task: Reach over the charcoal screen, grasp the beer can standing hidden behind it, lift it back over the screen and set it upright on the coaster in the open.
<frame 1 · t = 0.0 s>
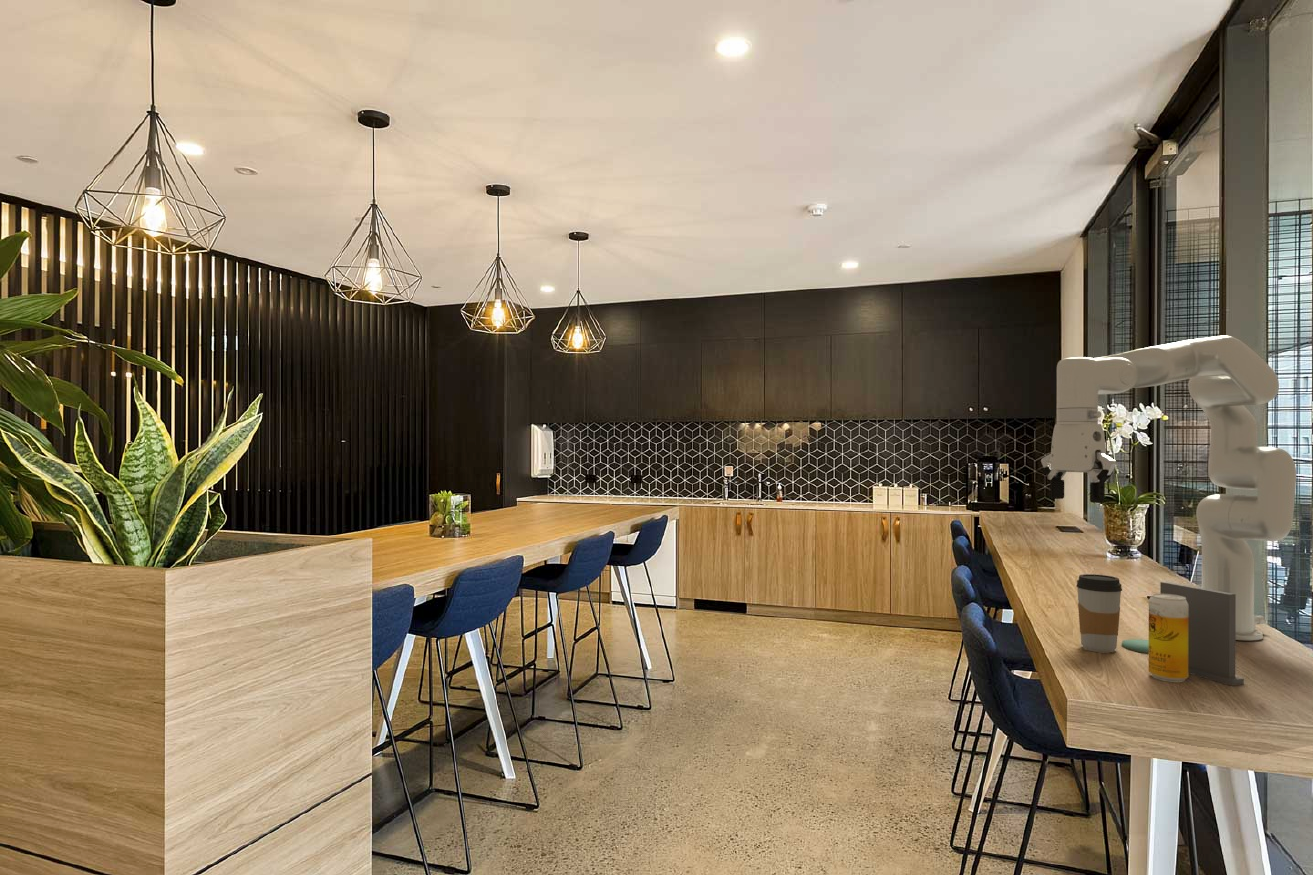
hand: (1076, 500, 159), 31 cm above the table, tool pointing down, fingers open, 9 cm apart
beer can: (1168, 679, 141), on the table
coffee cup: (1098, 649, 161), on the table
coaster: (1149, 648, 161), on the table
screen: (1196, 672, 144), on the table
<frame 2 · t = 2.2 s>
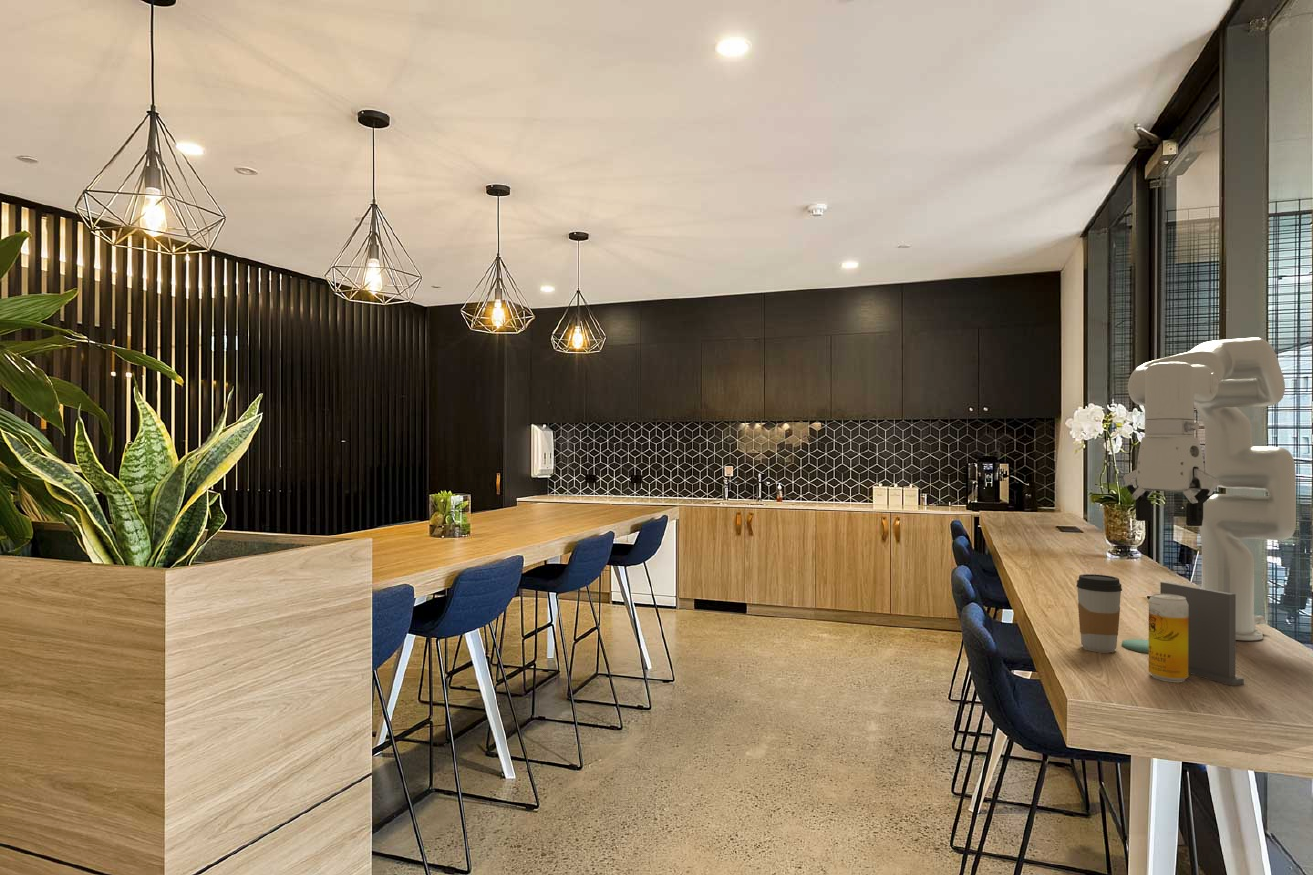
hand: (1168, 523, 141), 28 cm above the table, tool pointing down, fingers open, 9 cm apart
nothing on the table moved.
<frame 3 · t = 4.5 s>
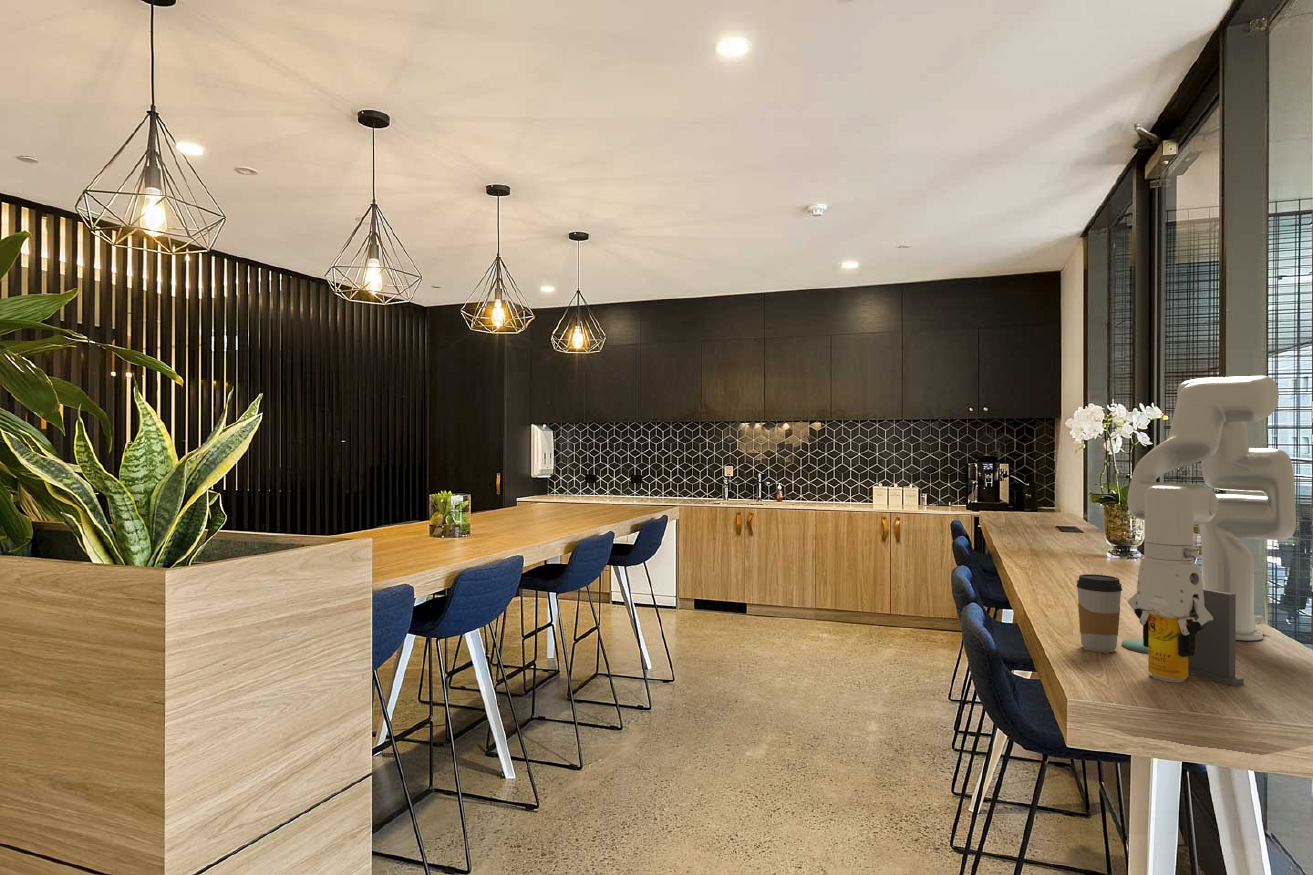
hand: (1168, 650, 141), 5 cm above the table, tool pointing down, fingers closed on beer can, 6 cm apart
beer can: (1168, 678, 141), on the table, touching gripper
everything else where it was.
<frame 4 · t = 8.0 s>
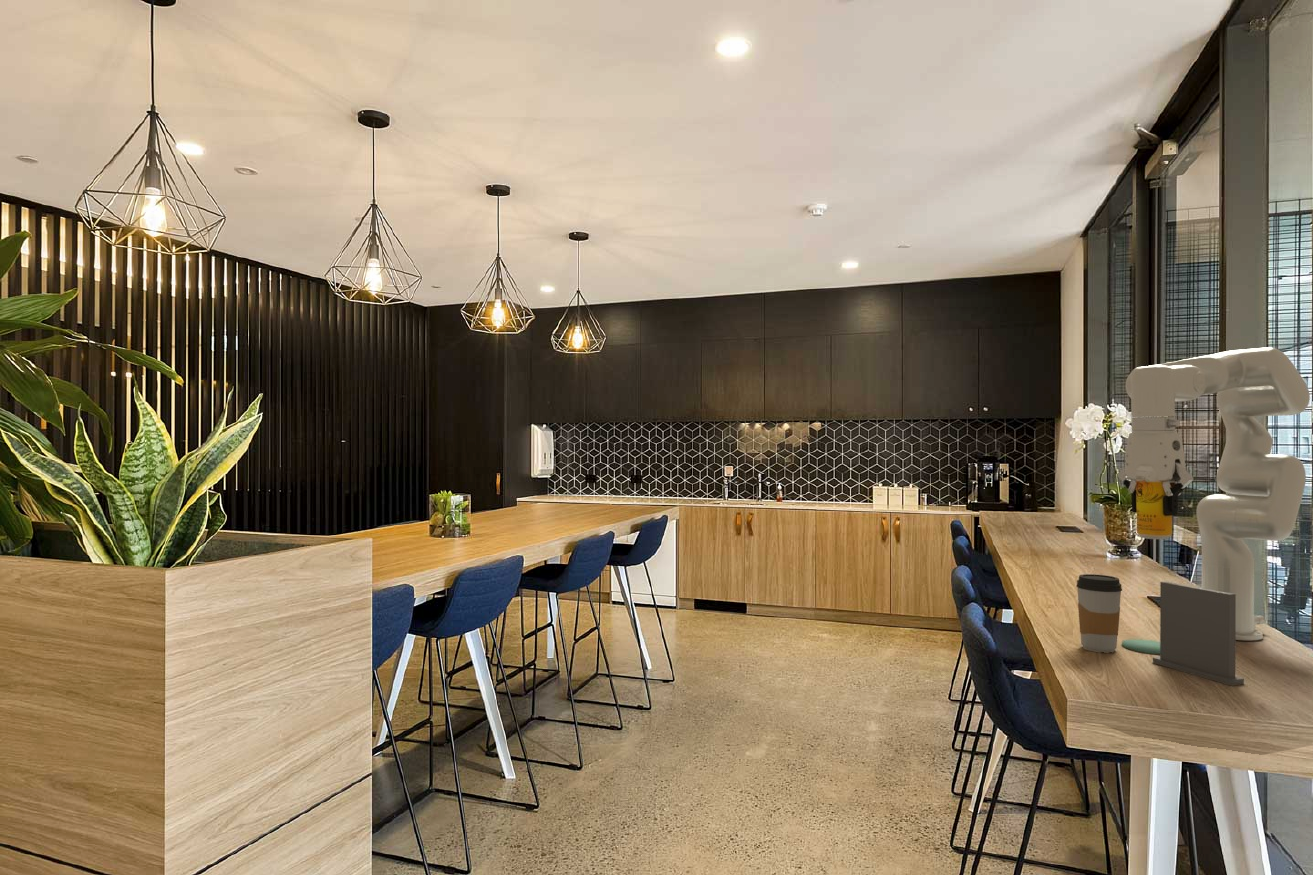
hand: (1154, 512, 158), 29 cm above the table, tool pointing down, fingers closed on beer can, 6 cm apart
beer can: (1154, 538, 158), point 24 cm above the table, touching gripper
everything else where it was.
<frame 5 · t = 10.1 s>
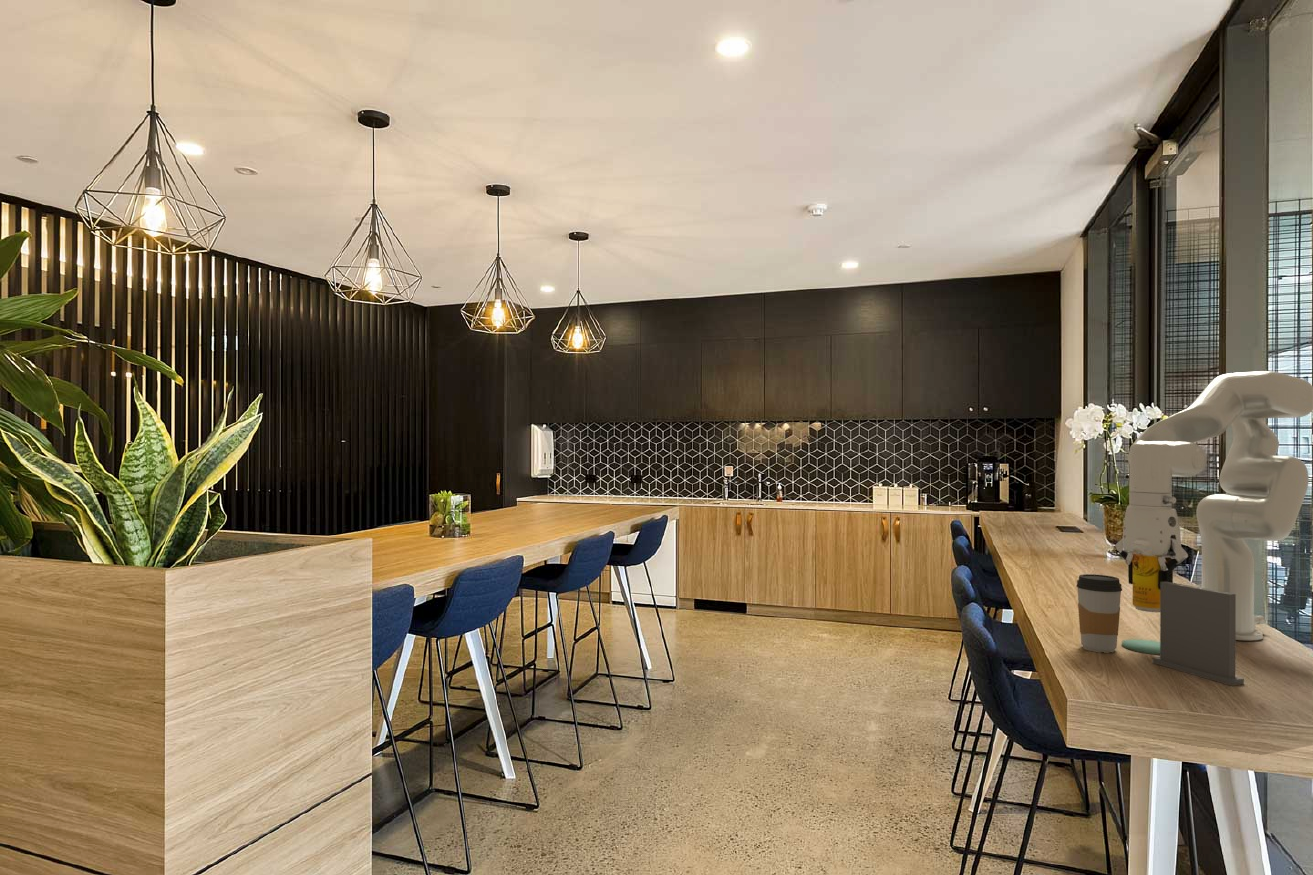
hand: (1149, 585, 161), 13 cm above the table, tool pointing down, fingers closed on beer can, 6 cm apart
beer can: (1149, 610, 161), point 8 cm above the table, touching gripper
everything else where it was.
when the fingers open (7 cm above the table, at t = 11.6 s): beer can stays where it is, resting on coaster.
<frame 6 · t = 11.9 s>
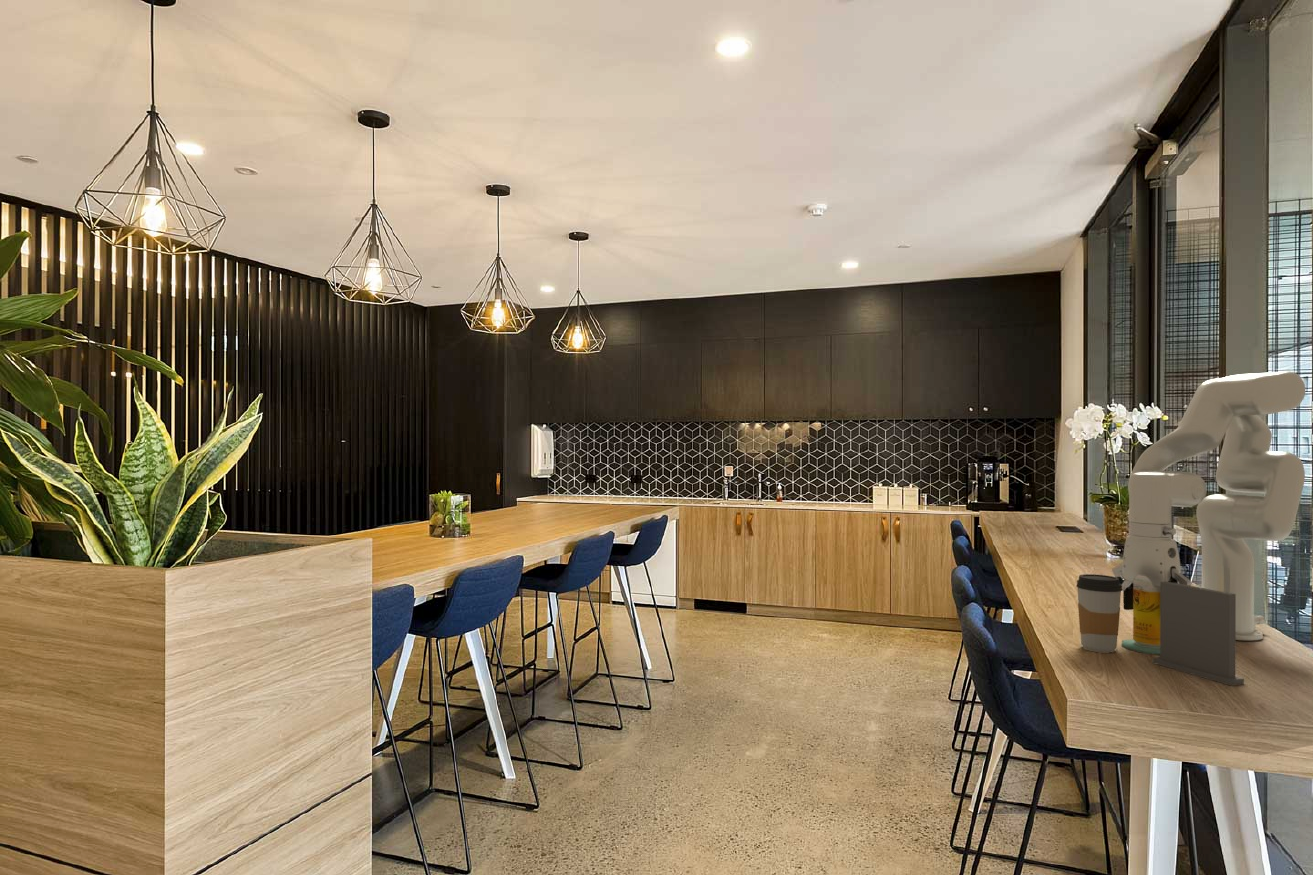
hand: (1149, 613, 161), 7 cm above the table, tool pointing down, fingers open, 8 cm apart
beer can: (1150, 646, 161), resting on coaster
everything else where it was.
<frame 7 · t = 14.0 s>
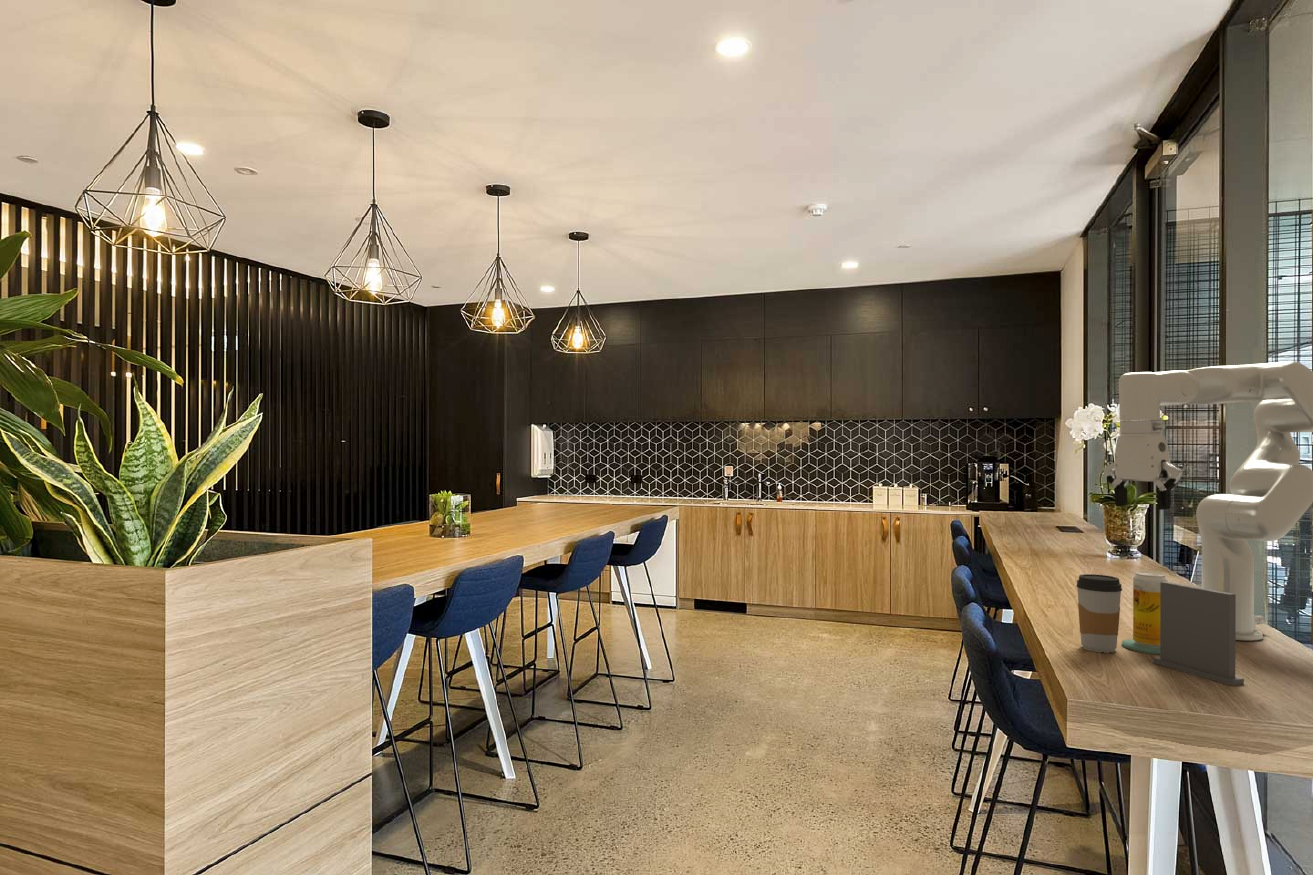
hand: (1142, 507, 167), 29 cm above the table, tool pointing down, fingers open, 9 cm apart
nothing on the table moved.
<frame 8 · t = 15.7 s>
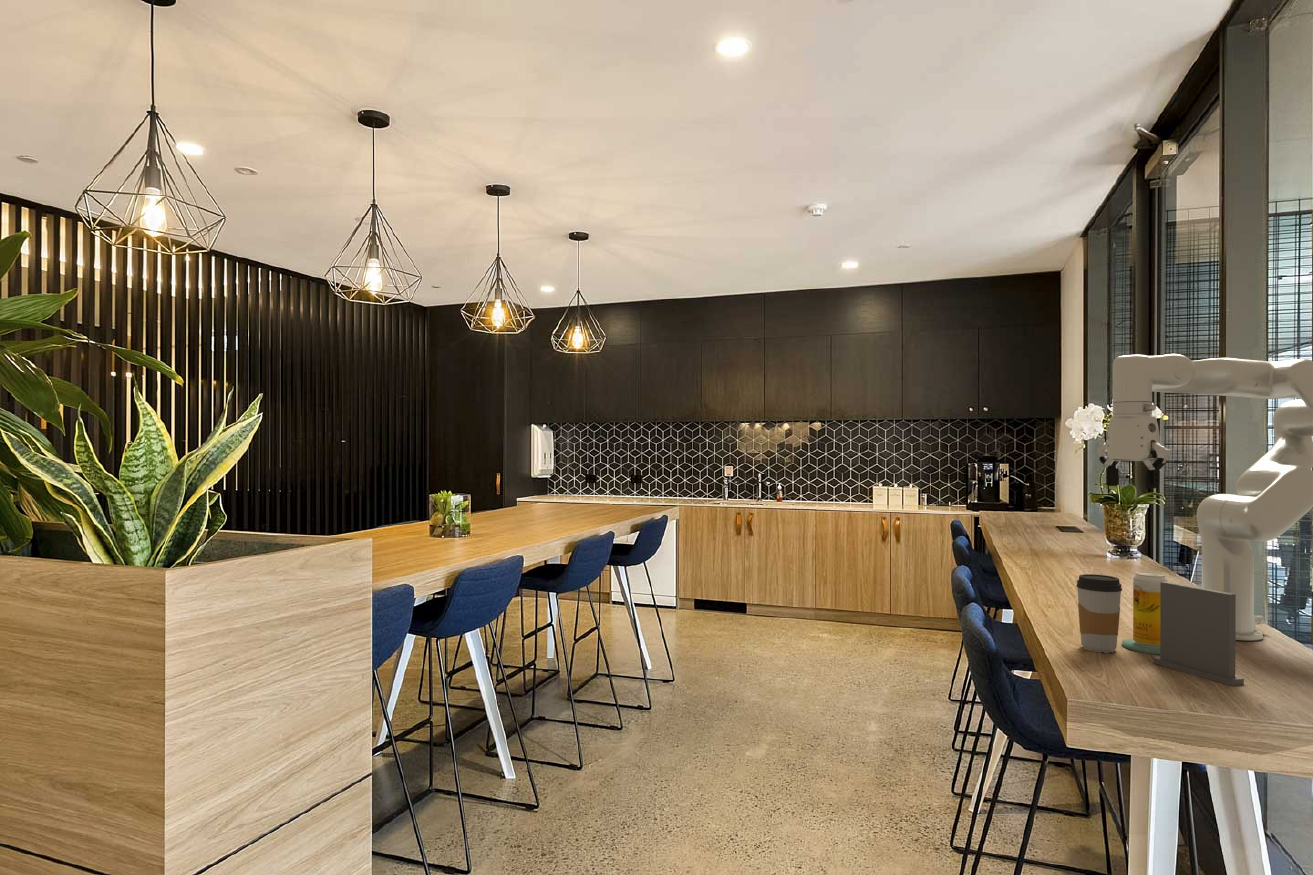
hand: (1131, 486, 172), 33 cm above the table, tool pointing down, fingers open, 9 cm apart
nothing on the table moved.
at the end: beer can 0.2 cm from the coaster (horizontally); beer can tilted 0°; the gripper is holding nothing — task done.
